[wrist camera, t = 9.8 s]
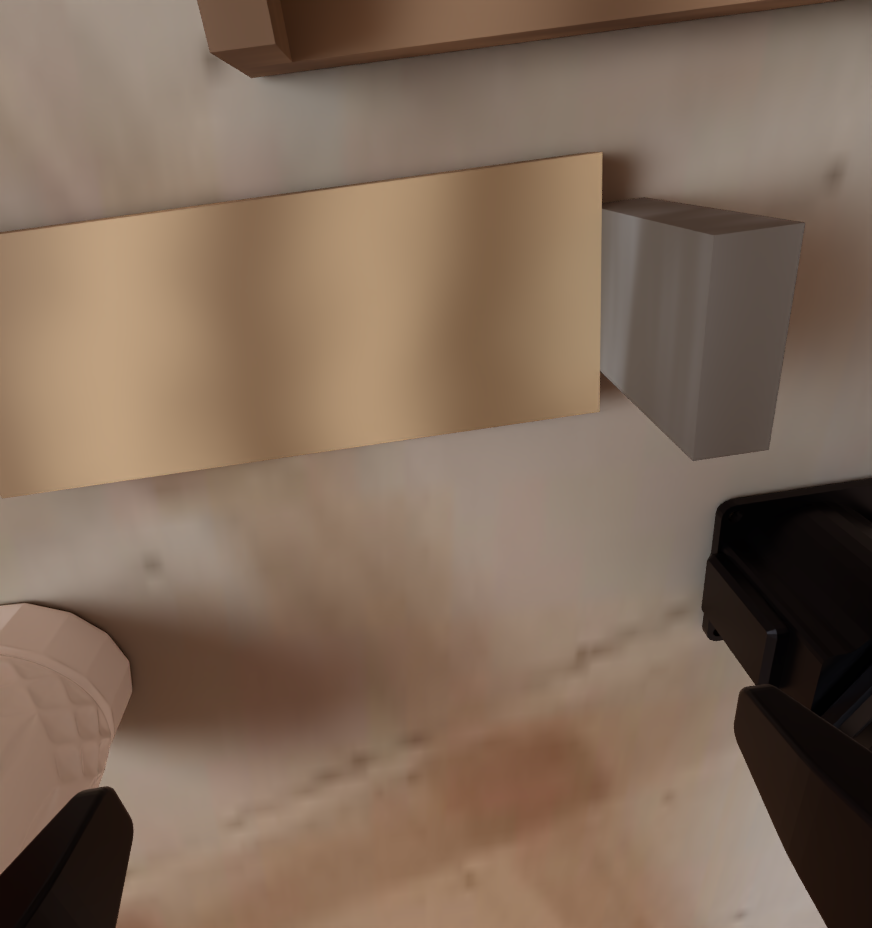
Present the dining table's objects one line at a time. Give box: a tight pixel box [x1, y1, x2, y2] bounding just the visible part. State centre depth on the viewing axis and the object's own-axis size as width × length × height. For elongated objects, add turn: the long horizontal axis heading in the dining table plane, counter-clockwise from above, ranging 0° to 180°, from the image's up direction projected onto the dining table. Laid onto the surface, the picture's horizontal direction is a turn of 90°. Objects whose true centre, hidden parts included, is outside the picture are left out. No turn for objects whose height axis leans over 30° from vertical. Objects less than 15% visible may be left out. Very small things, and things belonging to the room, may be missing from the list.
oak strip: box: [0, 152, 805, 498], centre depth 14 cm, size 20×7×7 cm, turn 97°
